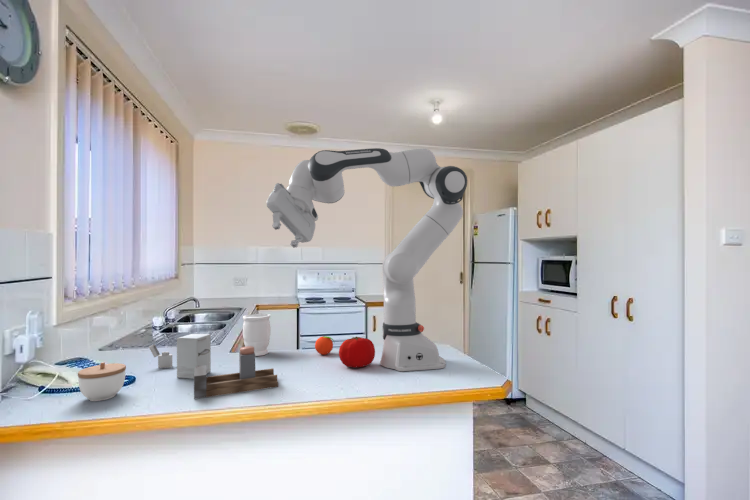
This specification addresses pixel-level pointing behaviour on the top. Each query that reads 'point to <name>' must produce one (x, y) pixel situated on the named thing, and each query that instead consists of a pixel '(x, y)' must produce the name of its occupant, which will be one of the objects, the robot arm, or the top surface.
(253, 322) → the jar
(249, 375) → the dome-capped grey post
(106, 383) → the lidded jar
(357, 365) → the tomato
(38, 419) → the top surface
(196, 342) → the supplement box
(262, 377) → the base
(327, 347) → the clementine
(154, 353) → the lighter
